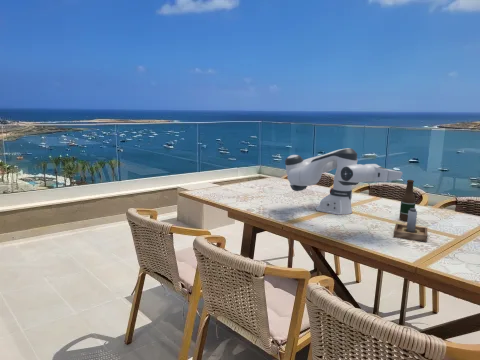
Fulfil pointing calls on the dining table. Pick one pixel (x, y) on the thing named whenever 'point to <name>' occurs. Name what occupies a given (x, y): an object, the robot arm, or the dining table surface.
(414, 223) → the grey capped bottle
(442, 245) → the dining table surface
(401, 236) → the walnut box
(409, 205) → the beer bottle
